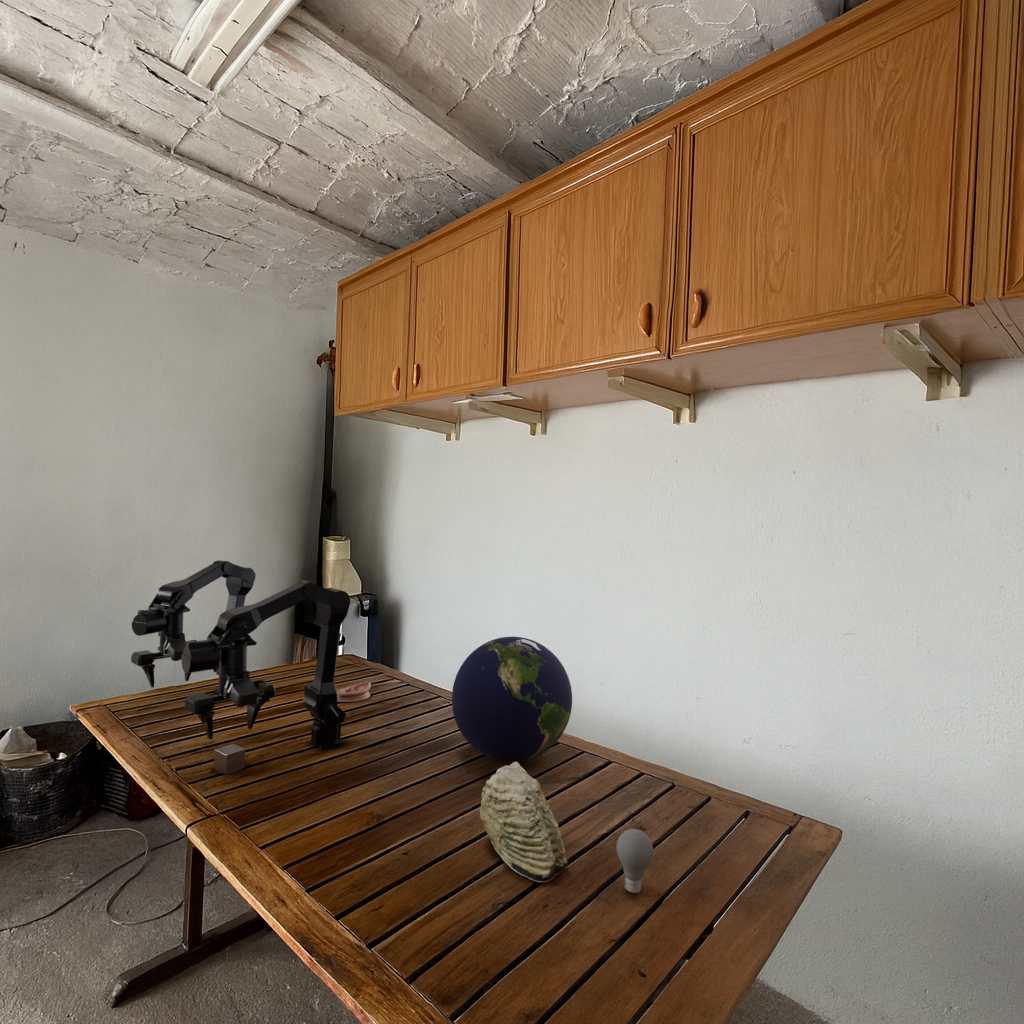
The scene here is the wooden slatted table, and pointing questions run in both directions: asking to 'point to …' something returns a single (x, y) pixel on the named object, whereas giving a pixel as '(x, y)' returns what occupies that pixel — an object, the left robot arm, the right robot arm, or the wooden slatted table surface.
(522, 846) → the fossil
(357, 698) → the anatomical model
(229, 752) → the block
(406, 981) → the wooden slatted table surface
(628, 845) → the light bulb
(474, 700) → the globe
